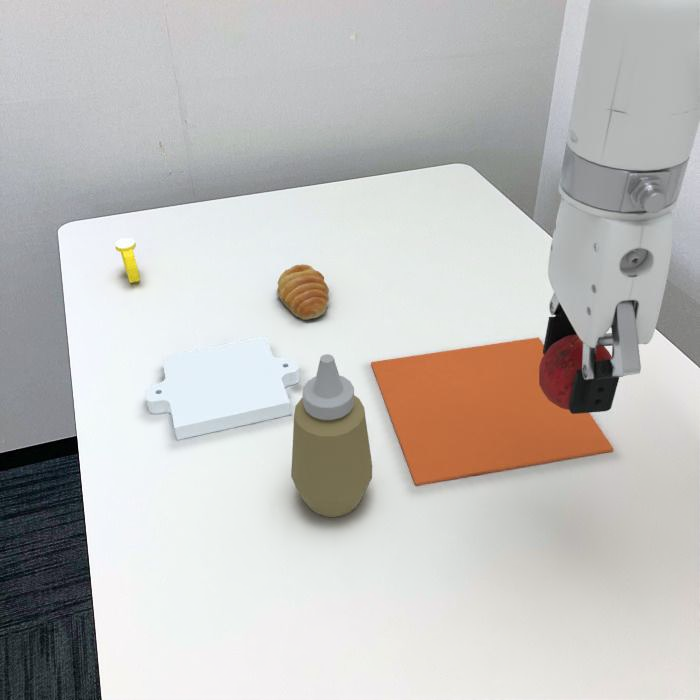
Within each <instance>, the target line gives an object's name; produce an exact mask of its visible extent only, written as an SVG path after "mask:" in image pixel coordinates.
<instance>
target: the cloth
mask: <svg viewBox="0 0 700 700" xmlns="http://www.w3.org/2000/svg"><path fill="white" fill-rule="evenodd" d="M543 348H544V343H543V341H542V340H541V339H540V337H533V338H526V339H519V340H512V341H506V342H505V341H504V342H497V343H492V344H485V345H478V346H470V347H465V348H458V349H450V350H444V351H437V352H431V353H424V354H416V355H410V356H402V357H396V358H389V359H383V360H382V359H381V360H376V361H370V366H371V368H372V371H373V374H374V376H375V379H376V382H377V384H378V387H379V390H380V393H381V395H382V398H383V401H384V404H385V406H386V409H387V411H388V415H389V417H390V421H391V423H392V426H393V428H394V432H395V434H396V437H397V439H398V443H399V445H400V447H401V450H402V454H403V456H404V458H405V462H406V464H407V467H408V469H409V473H410V475H411V478H412V481H413V483H414V486H422V485H427V484H432V483H439V482H444V481H451V480H456V479H461V478H467V477H473V476H478V475H484V474H490V473H496V472H501V471H507V470H513V469H519V468H525V467H529V466H535V465H541V464H546V463H553V462H558V461H564V460H570V459H575V458H581V457H587V456H592V455H599V454H604V453H609V452H610V453H611V452H613V451H614V446H612V444H611V442H610V441H609V439H608V438H607V436H606V435H605V434H604V432H603V431H602V429H601V428H600V427H599V425H598V423H597V422H596V420H595V419H594V417H593V416H592V414H591V413H579V414H572V413H571V412H570V410H566V409H562V408H560V407H559V406H557V405H555V404H553V403H552V402H551V401H549V400H548V398H547V397H546V396H545V394H544V393H543V391H542V389H541V387H540V385H539V365H540V362H541V359H542V358H543V356H544V354H543Z"/></svg>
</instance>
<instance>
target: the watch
mask: <svg viewBox="0 0 700 700" xmlns="http://www.w3.org/2000/svg"><path fill="white" fill-rule="evenodd" d="M136 246H137V243H136V241H135V239H134V238H131V237H122V238H119V239H118V240H117V241H116V242H115V243H114V247H115V250H116V251H117V252H120V254H121V258H122V262H123V265H124V269H125V273H126V277H127V278H128V282H129V284H133V283H137V282H140V281H141V278H140V273H139V269H138V265H137V261H136V257H135V254H134V250H135V249H136Z"/></svg>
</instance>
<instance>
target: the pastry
mask: <svg viewBox="0 0 700 700" xmlns="http://www.w3.org/2000/svg"><path fill="white" fill-rule="evenodd" d="M276 288H277V289H276V293H277V295H278V296H279V299H280V300H281V302H282V303H283V305H284V306H285V307H286V308H287V309H288V310H289V311H290V312H291V313H292V315H294V316H295V317H297V318H299V319H301V320H305V321H306V320H310V319H316V318H319V317H321V316H323V315H324V314H325V312H326V310H327V309H328V302H329V291H330V290H329V287H328V285H327V283H326V282H325V277H324V275H323V274H322V273H321V272H320V271H319V270H315V269H314V268H313V267H312V266H311V265H309V264H303V263H302V264H296V265H293V266H291V267H289V268H287V269H285V270H284V271H283V272H282V273H281V274H280V277H279V278H278V281H277V287H276Z"/></svg>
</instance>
